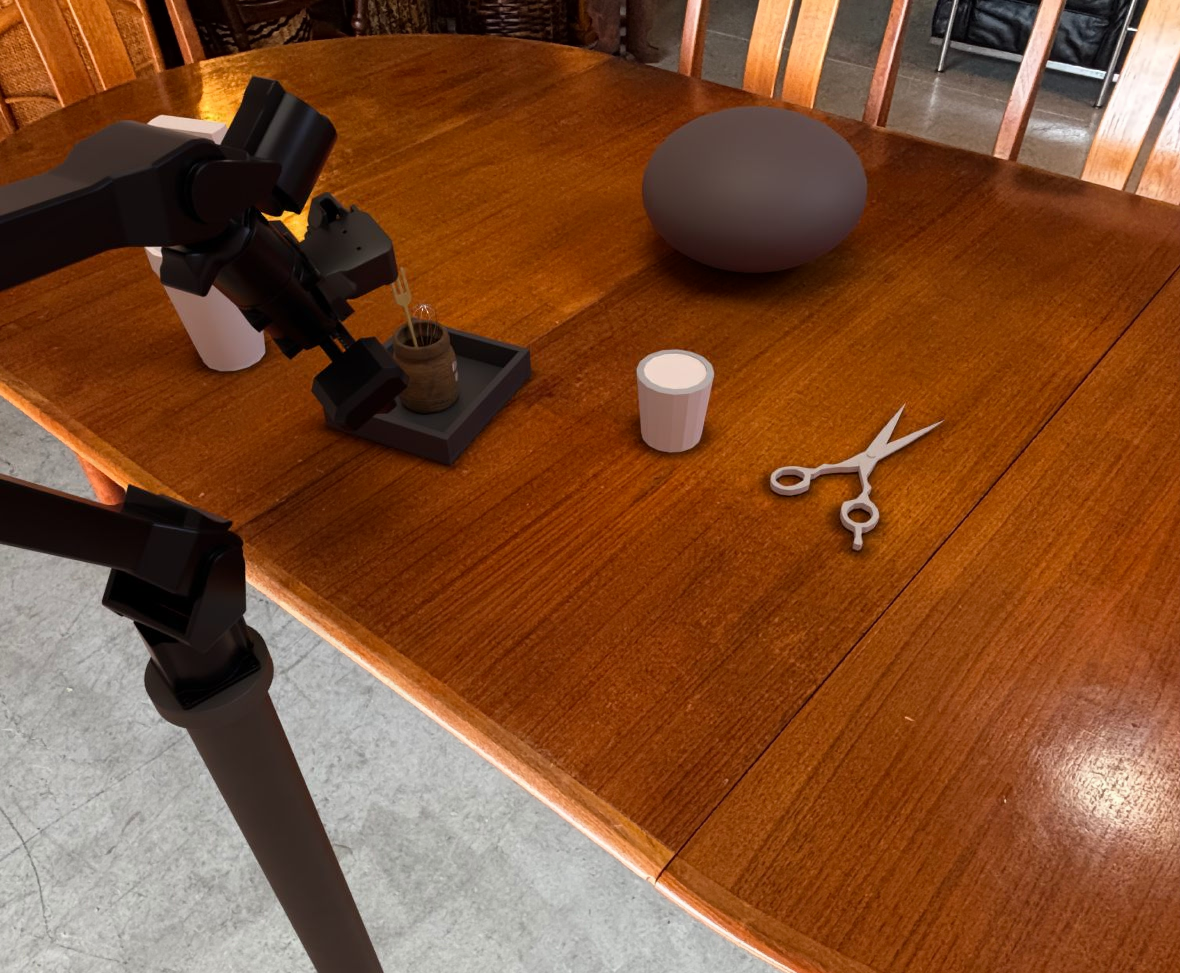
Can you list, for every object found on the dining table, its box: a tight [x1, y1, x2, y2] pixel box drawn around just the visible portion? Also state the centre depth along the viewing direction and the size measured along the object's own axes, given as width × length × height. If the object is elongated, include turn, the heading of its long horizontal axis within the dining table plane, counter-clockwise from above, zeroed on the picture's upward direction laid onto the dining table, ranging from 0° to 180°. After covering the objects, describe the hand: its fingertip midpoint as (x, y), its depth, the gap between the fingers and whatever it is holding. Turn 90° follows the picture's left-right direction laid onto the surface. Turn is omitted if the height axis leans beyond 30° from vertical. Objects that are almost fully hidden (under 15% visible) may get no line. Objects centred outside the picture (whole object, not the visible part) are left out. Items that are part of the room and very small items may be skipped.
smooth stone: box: [641, 105, 868, 274], centre depth 109 cm, size 25×25×15 cm
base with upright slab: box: [146, 114, 228, 145], centre depth 116 cm, size 9×9×12 cm
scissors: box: [769, 402, 945, 551], centre depth 88 cm, size 11×1×20 cm
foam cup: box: [143, 247, 266, 372], centre depth 97 cm, size 10×9×13 cm
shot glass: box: [636, 348, 715, 453], centre depth 89 cm, size 7×7×7 cm
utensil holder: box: [390, 266, 459, 413], centre depth 91 cm, size 6×6×12 cm
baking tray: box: [321, 316, 532, 466], centre depth 95 cm, size 16×14×3 cm
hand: (362, 371), depth 82 cm, fingers open, 9 cm apart
